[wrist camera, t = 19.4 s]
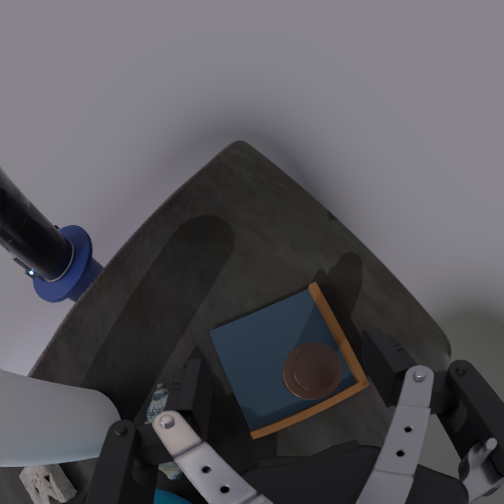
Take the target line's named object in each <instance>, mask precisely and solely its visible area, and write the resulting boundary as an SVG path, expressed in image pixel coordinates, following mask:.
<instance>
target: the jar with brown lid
mask: <svg viewBox="0 0 504 504" xmlns="http://www.w3.org/2000/svg"><path fill="white" fill-rule="evenodd" d="M341 377H342V363H341V360H340V358H339V356H338V354H337V353H336V352H335V351H334V350H333V349H332V348H331V347H329V346H327V345H325V344H322V343H318V342H310V343H305V344H302V345H300V346H298V347H296V348H295V349H294V350H293V351H292V352H291V353H290V354H289V355H288V357H287V358H286V360H285V363H284V366H283V372H282V382H283V385H284V387H285V389H286V390H287V391H288V392H289V393H291V394H292V395H295V396H297V397H300V398H302V399H306V400H316V399H321V398H323V397H326V396H327V395H329V394H330V393H332V392H333V391H334V390H335V389H336V387H337V386H338V384H339V382H340V380H341Z"/></svg>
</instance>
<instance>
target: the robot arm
mask: <svg viewBox="0 0 504 504" xmlns="http://www.w3.org/2000/svg"><path fill="white" fill-rule="evenodd" d="M58 229H59V228H58V227H57V226H55V225H52V223H51V222H50V221H49V220H48V219H47V218H46V217H45V216H44V215H43V214H42V213H41V212H40V211H39V210H38V209H37V208H36V207H35V206H34V205H33V204H32V203H31V202H30V201H29V200H28V199H27V198H26V196H25V195H24V194H23V193H22V192H21V191H20V190H19V188H18V187H17V186H16V185H15V184H14V183H13V181H12V180H11V179H10V178H9V177H8V176H7V175H6V173H5V172H4V171H3V169H2V168H1V167H0V245H1V246H2V247H4V248H5V249H6V250H7V251H8V252H10V253H11V254H12V255H13V260H14V261H15V262H17V263H18V264H19V265H21V266H22V267H23V268H25V269H26V272H25V273H26V274H27V275H28V276H30V277H31V278H33V279H34V278H36V277H37V278H39V279H40V280H42V281H43V282H45V281H48V282H50V283H54V282H57V281H59V280H61V279H62V278H63V277H64V276H65V275H66V274H67V273H68V271H69V270H70V268H71V266H72V264H73V261H74V257H75V248H74V245H73V243H72V242H71V241H70V240H69V239H67V238H66V237H65V236H64V235H63V234H62V233H61V232H60V231H59V230H58ZM361 360H362V363H363V366H364V367H365V369H366V371H367V373H368V374H369V376H370V378H371V380H372V381H373V383H374V385H375V387H376V388H377V390H378V392H379V394H380V396H381V397H382V399H383V401H384V403H385V405H386V407H390V406H393V405H395V407H396V409H395V413H394V416H393V419H392V422H391V425H390V427H389V430H388V433H387V436H386V438H385V441H384V443H383V446H382V448H380V447H376V446H370V445H358V442H357V440H353V441H350V442H346V443H343V444H339V445H335V446H332V447H330V448H328V449H325V450H323V451H321V452H319V453H316V454H314V455H312V456H308V457H298V456H278V457H271V458H262V459H257V462H258V465H257V466H254V467H251V468H249V469H247V470H245V471H243V472H241V473H240V474H237V473H236V472H235V471H234V470H233V469H232V468H231V467H230V466H229V465H228V464H227V463H226V462H225V461H224V460H223V459H222V458H221V457H220V456H219V455H218V454H217V453H216V452H215V450H214V449H213V448H212V447H211V446H210V445H209V444H208V443H207V442H206V441H205V440H207V435H208V426H209V417H210V408H211V400H212V391H213V387H212V381H211V377H210V374H209V371H208V368H207V365H206V362H205V360H204V358H192V359H188V361H187V365H186V369H179V371H178V372H177V373H176V374H175V375H174V377H173V381H172V385H171V387H170V391H169V394H168V398H167V401H166V404H165V408H164V411H163V412H161V413H159V414H158V415H156V416H155V418H154V419H153V421H152V422H151V423H148V424H143V425H138V426H135V425H134V424H133V422H131V421H129V420H119V421H116V422H114V423H113V424H112V425H111V426H110V427H109V429H108V432H107V435H106V438H105V440H104V443H103V446H102V449H101V452H100V455H99V458H98V461H97V464H96V468H95V471H94V474H93V477H92V480H91V484H90V487H89V491H88V494H87V498H86V501H85V504H154V496H155V489H156V482H157V475H158V468H159V464H163V463H168V462H173V461H175V462H176V463H177V464H178V466H179V467H180V468H181V470H182V471H183V472H184V474H185V475H186V476H187V478H188V479H189V480H190V481H191V483H192V484H193V485H194V486H195V488H196V489H197V490H198V491H199V492H200V494H201V495H202V496H203V497H204V498H205V499H206V501H207V502H208V503H209V504H470V503H472V502H474V501H475V500H477V499H478V498H480V497H481V496H489V495H491V494H493V493H494V492H495V491H496V490H497V489H498V488H500V487H501V486H502V485H503V484H504V403H503V402H502V401H501V399H500V398H499V397H498V395H497V394H496V393H495V392H494V390H493V389H492V388H491V387H490V386H489V384H488V383H487V382H486V381H485V379H484V378H483V377H482V376H481V375H480V373H479V372H478V371H477V370H476V369H475V368H474V366H473V365H472V364H471V363H469V362H468V361H465V360H456V361H454V362H452V363H451V364H450V366H449V369H448V370H446V371H439V372H433V371H432V370H431V369H430V368H428V367H426V366H421V365H417V363H416V362H415V361H414V360H413V358H412V357H411V356H410V355H409V354H408V352H407V351H406V350H404V347H403V346H402V345H400V343H399V341H398V340H397V339H396V338H395V337H393V336H391V335H389V334H385V335H384V334H383V333H382V332H381V331H380V329H379V328H378V327H375V328H371V329H367V330H364V331H363V332H362V346H361ZM430 414H436V415H437V416H438V418H439V420H440V422H441V423H442V425H443V427H444V429H445V431H446V432H447V434H448V436H449V438H450V440H451V441H452V443H453V445H454V447H455V449H456V451H457V453H458V455H459V456H460V458H461V462H460V464H459V467H458V472H459V480H458V479H457V478H454V477H451V476H448V475H445V474H443V473H440V472H437V471H435V470H432V469H429V468H427V467H424V466H422V465H420V464H417V463H418V460H419V457H420V453H421V450H422V446H423V442H424V439H425V434H426V430H427V425H428V421H429V416H430Z"/></svg>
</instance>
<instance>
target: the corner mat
mask: <svg viewBox="0 0 504 504" xmlns="http://www.w3.org/2000/svg"><path fill="white" fill-rule="evenodd" d="M209 332H210V335H211V337H212V340H213V342H214V345H215V348H216V350H217V353H218V355H219V358H220V360H221V363H222V365H223V368H224V370H225V373H226V375H227V378H228V380H229V382H230V385H231V387H232V390H233V392H234V394H235V397H236V399H237V401H238V403H239V406H240V408H241V410H242V413H243V415H244V417H245V419H246V421H247V424H248V426H249V428H250V430H251V432H250V435H251V437H252V439H253V440H254V439H257V438H259V437H262V436H265V435H268V434H270V433H273V432H275V431H278V430H280V429H283V428H285V427H288V426H290V425H292V424H295V423H297V422H299V421H301V420H304V419H306V418H308V417H310V416H312V415H314V414H317V413H319V412H321V411H323V410H325V409H327V408H329V407H331V406H333V405H335V404H336V403H338V402H340V401H342V400H344V399H346V398H348V397H349V396H351V395H353V394H355V393H357V392H358V391H360V390H362V389H363V388H365V387H367V386H368V385H370V384H369V382H368V380H367V378H366V376H365V374H364V372H363V370H362V368H361V366H360V364H359V362H358V360H357V358H356V356H355V354H354V352H353V350H352V348H351V346H350V344H349V342H348V340H347V338H346V337H345V335H344V333H343V331H342V329H341V327H340V325H339V323H338V321H337V320H336V318H335V316H334V314H333V312H332V310H331V308H330V307H329V305H328V303H327V301H326V299H325V297H324V296H323V294H322V292H321V290H320V288H319V286H318V285H317V283H316V282H313V283H311V284H309V287H308V289H306V290H304V291H302V292H300V293H298V294H295V295H293V296H291V297H289V298H287V299H284V300H282V301H280V302H278V303H275V304H273V305H271V306H269V307H266V308H264V309H262V310H259V311H257V312H255V313H252V314H250V315H247V316H245V317H243V318H240V319H238V320H235V321H233V322H231V323H228V324H226V325H223V326H221V327H218V328H216V329H213V330H211V331H209ZM310 342H318V343H322V344H325V345H327V346H329V347H331V348H332V349H333V350H334V351H335V352H336V353H337V354H338V356H339V358H340V360H341V363H342V377H341V380H340V382H339V384H338V386H337V387H336V389H335V390H334V391H333V392H332V393H330V394H329V395H327V396H326V397H323V398H321V399H316V400H306V399H302V398H300V397H297V396H295V395H292V394H291V393H289V392H288V391H287V390H286V389H285V387H284V385H283V382H282V372H283V366H284V363H285V360H286V358H287V357H288V355H289V354H290V353H291V352H292V351H293V350H294V349H295V348H296V347H298V346H300V345H302V344H305V343H310Z"/></svg>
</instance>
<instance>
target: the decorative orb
mask: <svg viewBox="0 0 504 504" xmlns="http://www.w3.org/2000/svg"><path fill="white" fill-rule="evenodd" d="M154 504H192V503H191V502H189V501H188V500H187V499H184V498H182V497H180V496H178V495H176V494H173V493H171V492H168V491H163V490H159V489H155V496H154Z"/></svg>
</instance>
